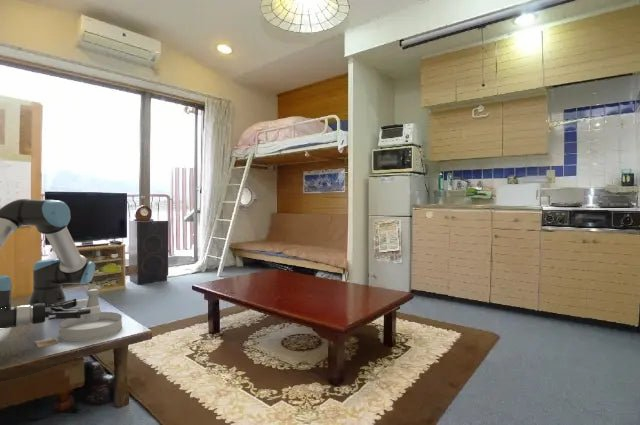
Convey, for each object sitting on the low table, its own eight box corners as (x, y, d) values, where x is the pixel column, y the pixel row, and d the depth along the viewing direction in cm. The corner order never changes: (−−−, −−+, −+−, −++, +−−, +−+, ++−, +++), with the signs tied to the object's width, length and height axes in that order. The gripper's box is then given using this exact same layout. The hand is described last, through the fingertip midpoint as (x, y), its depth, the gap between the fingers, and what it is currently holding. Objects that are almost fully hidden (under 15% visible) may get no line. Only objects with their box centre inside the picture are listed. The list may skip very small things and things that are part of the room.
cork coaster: (34, 343, 129) (34, 341, 129) (54, 338, 134) (54, 337, 133) (38, 347, 125) (38, 346, 125) (58, 343, 130) (58, 341, 130)
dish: (90, 320, 156) (90, 309, 156) (133, 325, 153) (133, 314, 152) (44, 339, 134) (44, 326, 134) (93, 345, 131) (93, 332, 130)
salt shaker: (96, 317, 147) (97, 287, 147) (102, 319, 144) (104, 289, 144) (81, 320, 142) (82, 289, 142) (87, 323, 139) (88, 291, 139)
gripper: (31, 315, 139) (92, 306, 153) (32, 334, 120) (102, 322, 134) (31, 297, 139) (93, 290, 153) (32, 313, 120) (102, 303, 134)
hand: (97, 305), depth 144 cm, fingers open, 13 cm apart
